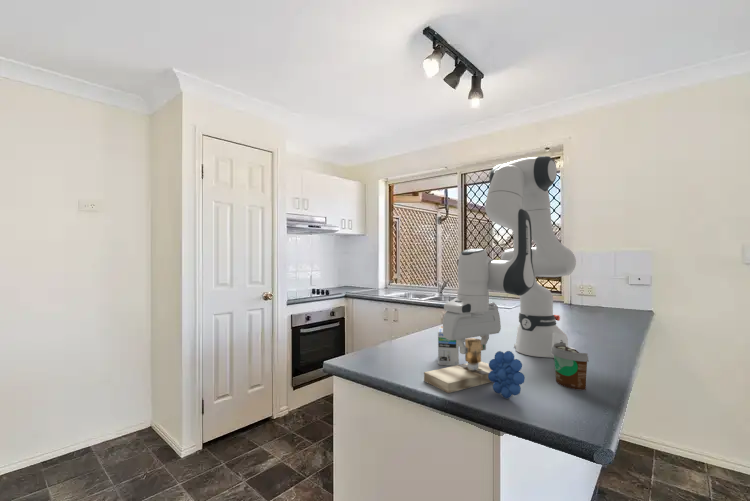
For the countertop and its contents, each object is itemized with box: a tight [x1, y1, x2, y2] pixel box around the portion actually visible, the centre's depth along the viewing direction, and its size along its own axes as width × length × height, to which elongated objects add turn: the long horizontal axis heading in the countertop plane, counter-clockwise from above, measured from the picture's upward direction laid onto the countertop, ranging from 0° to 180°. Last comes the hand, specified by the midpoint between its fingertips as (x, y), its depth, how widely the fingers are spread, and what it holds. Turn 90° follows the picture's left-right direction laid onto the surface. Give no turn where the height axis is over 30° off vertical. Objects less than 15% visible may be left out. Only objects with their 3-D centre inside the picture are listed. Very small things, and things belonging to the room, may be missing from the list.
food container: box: [551, 343, 589, 391], centre depth 98 cm, size 12×6×10 cm, turn 178°
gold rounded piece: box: [464, 337, 482, 372], centre depth 102 cm, size 4×4×11 cm
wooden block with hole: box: [423, 361, 493, 394], centre depth 100 cm, size 22×10×3 cm, turn 120°
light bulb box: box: [437, 325, 460, 367], centre depth 118 cm, size 11×7×11 cm, turn 168°
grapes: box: [488, 350, 526, 399], centre depth 88 cm, size 12×7×12 cm, turn 22°
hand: (473, 351), depth 102 cm, fingers open, 6 cm apart
